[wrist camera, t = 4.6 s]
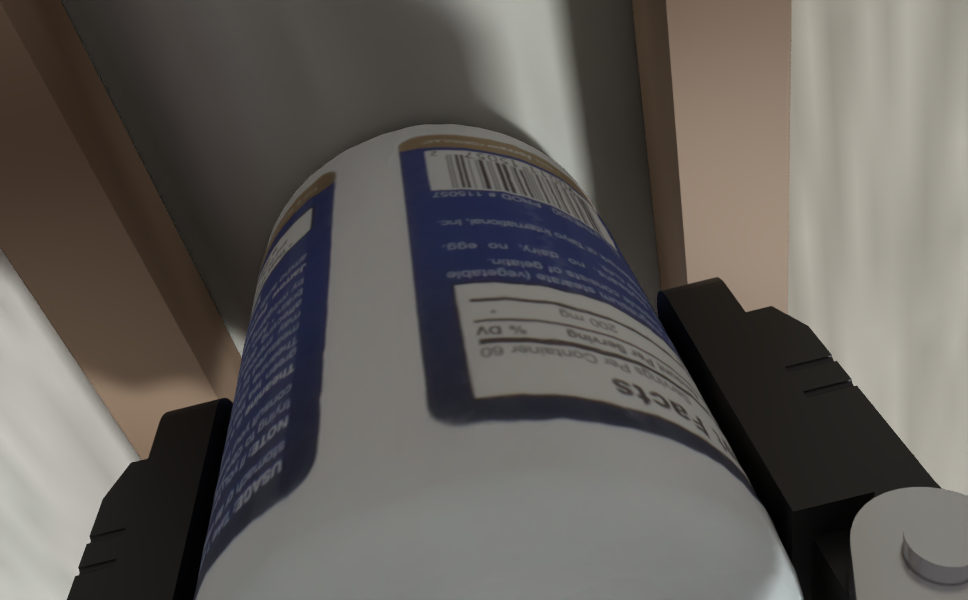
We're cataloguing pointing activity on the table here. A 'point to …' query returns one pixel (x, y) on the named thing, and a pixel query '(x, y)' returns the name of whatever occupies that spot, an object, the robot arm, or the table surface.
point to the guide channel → (178, 286)
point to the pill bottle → (470, 401)
